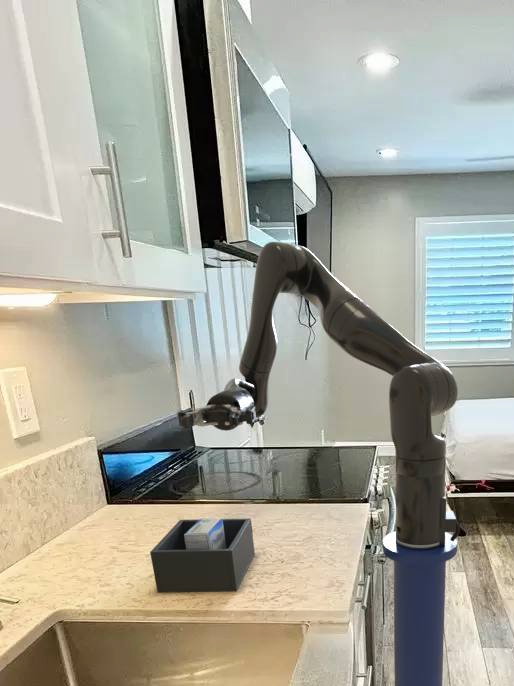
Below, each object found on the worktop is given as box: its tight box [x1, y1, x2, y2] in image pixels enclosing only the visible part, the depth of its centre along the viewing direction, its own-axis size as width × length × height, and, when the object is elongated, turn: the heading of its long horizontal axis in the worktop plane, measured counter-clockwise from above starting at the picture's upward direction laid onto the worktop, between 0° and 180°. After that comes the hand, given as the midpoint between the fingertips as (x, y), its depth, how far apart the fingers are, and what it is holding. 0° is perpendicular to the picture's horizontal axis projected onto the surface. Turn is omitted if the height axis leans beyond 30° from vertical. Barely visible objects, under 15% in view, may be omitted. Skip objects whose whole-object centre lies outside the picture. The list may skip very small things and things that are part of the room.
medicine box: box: [184, 517, 226, 550], centre depth 102 cm, size 8×4×9 cm, turn 176°
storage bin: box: [149, 518, 256, 594], centre depth 103 cm, size 14×16×8 cm
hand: (208, 422), depth 105 cm, fingers open, 8 cm apart
